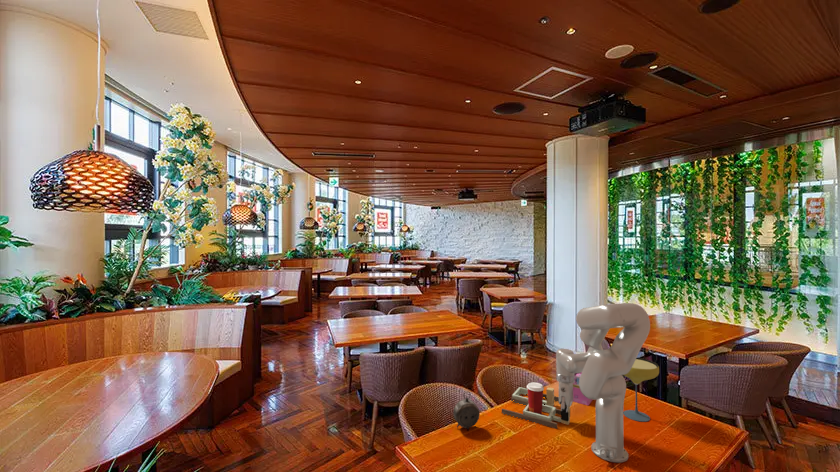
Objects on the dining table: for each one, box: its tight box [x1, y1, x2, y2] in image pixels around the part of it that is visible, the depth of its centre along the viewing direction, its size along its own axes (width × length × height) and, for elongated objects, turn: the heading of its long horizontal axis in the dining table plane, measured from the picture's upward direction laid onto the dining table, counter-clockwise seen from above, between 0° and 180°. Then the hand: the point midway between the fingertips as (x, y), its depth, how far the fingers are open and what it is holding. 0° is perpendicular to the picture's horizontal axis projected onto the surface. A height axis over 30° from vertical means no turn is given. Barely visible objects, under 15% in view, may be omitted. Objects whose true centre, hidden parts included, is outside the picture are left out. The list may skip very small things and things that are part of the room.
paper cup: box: [526, 382, 544, 415], centre depth 167 cm, size 8×8×14 cm
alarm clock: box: [453, 391, 480, 430], centre depth 154 cm, size 11×5×16 cm, turn 102°
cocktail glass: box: [623, 357, 660, 423], centre depth 166 cm, size 18×18×25 cm
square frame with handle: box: [511, 386, 555, 407], centre depth 181 cm, size 12×19×8 cm, turn 57°
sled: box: [522, 403, 571, 425], centre depth 164 cm, size 12×19×8 cm, turn 57°
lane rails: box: [501, 393, 561, 429], centre depth 173 cm, size 29×25×2 cm
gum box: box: [572, 372, 593, 406], centre depth 188 cm, size 24×8×14 cm, turn 141°
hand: (565, 417), depth 159 cm, fingers closed on sled, 3 cm apart
